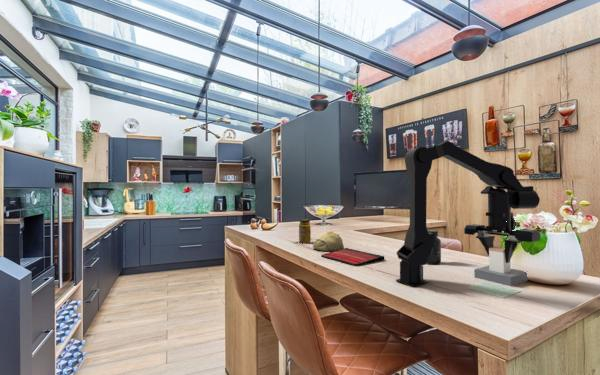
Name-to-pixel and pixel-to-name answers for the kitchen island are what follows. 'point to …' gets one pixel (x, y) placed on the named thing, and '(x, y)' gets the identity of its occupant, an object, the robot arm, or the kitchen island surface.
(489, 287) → the mat
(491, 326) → the kitchen island surface
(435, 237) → the supplement bottle
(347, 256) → the binder
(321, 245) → the tan lumpy mound
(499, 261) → the plug
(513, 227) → the robot arm
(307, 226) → the condiment
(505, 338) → the kitchen island surface
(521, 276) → the grey square socket block
